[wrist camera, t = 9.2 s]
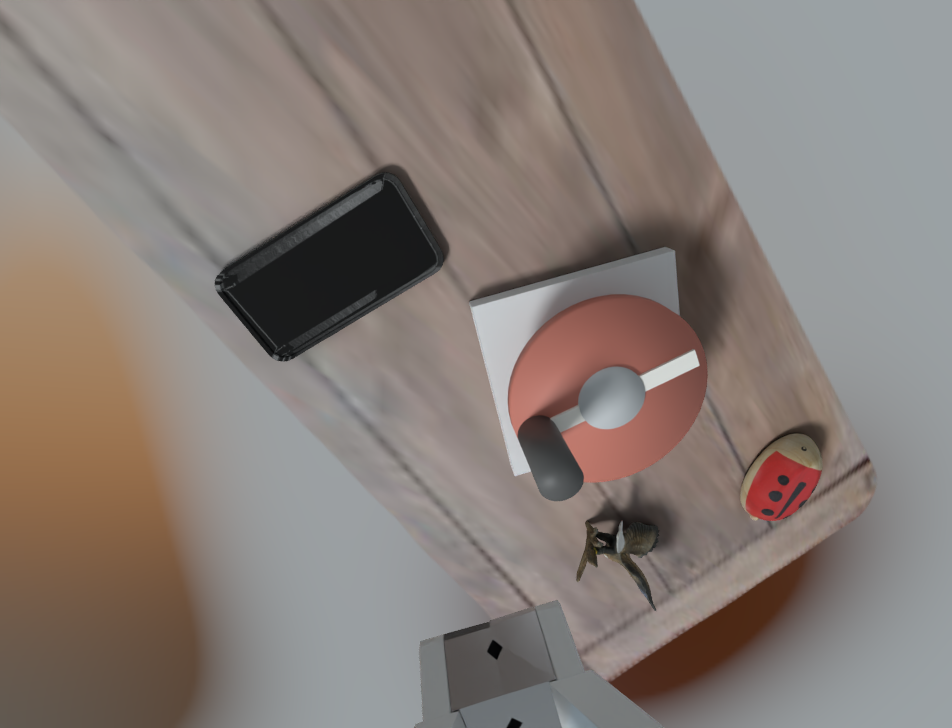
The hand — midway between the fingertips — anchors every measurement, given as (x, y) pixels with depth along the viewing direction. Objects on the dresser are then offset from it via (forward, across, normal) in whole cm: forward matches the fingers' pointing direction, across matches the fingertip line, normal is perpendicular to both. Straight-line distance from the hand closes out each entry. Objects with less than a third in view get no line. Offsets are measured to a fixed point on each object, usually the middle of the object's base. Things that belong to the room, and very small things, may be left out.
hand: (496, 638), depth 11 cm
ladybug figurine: (+32, -28, +29) cm, 51 cm away
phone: (+32, +6, -2) cm, 32 cm away
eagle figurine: (+31, -11, +31) cm, 46 cm away
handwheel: (+26, -11, +11) cm, 31 cm away
